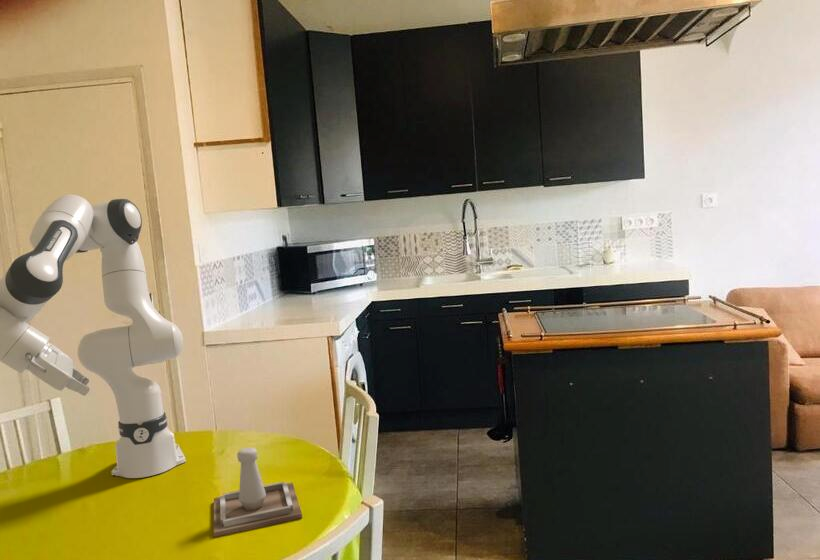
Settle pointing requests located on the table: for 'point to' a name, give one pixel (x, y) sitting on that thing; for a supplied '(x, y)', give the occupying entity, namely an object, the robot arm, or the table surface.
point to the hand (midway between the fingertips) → (87, 387)
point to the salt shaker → (250, 480)
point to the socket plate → (273, 511)
